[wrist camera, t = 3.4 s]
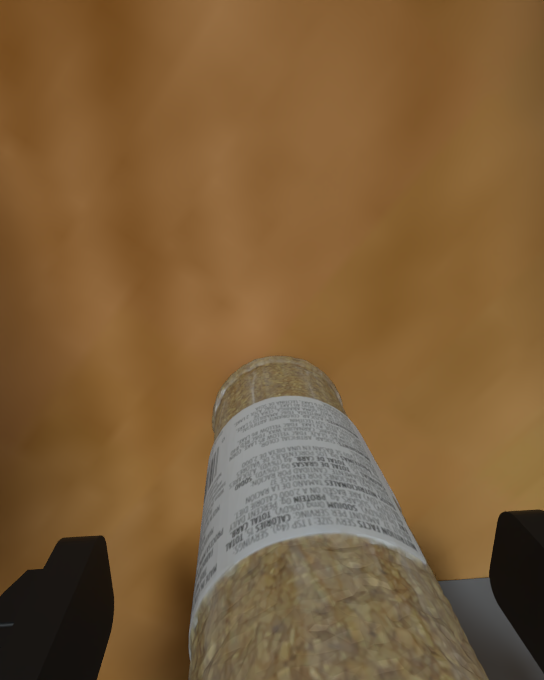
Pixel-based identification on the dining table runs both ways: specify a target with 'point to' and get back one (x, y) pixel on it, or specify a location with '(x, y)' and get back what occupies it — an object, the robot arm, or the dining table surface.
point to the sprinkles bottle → (309, 547)
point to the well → (490, 631)
